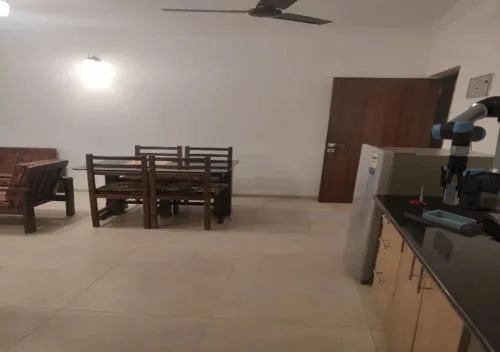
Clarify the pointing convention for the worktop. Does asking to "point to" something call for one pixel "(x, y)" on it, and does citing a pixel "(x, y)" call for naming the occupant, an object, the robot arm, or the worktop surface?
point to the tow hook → (420, 198)
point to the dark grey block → (450, 193)
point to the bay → (448, 228)
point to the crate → (449, 219)
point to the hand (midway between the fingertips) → (450, 202)
